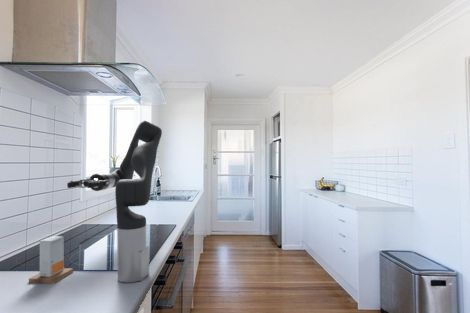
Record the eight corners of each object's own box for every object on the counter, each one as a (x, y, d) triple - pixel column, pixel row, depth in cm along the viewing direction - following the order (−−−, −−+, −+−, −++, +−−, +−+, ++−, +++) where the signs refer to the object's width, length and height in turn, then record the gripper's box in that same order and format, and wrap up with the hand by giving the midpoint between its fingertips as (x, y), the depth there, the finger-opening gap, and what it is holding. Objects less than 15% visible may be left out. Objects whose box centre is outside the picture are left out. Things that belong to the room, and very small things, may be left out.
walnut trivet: (73, 271, 99) (73, 268, 99) (54, 283, 90) (54, 279, 90) (49, 271, 100) (49, 267, 100) (28, 282, 91) (28, 278, 91)
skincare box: (50, 277, 92) (50, 241, 92) (39, 276, 92) (38, 240, 92) (64, 270, 98) (64, 236, 98) (54, 269, 98) (53, 235, 98)
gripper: (87, 173, 126) (61, 175, 110) (117, 173, 124) (95, 175, 108) (87, 189, 126) (61, 194, 110) (117, 189, 124) (95, 194, 108)
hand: (78, 185), depth 109 cm, fingers open, 8 cm apart
